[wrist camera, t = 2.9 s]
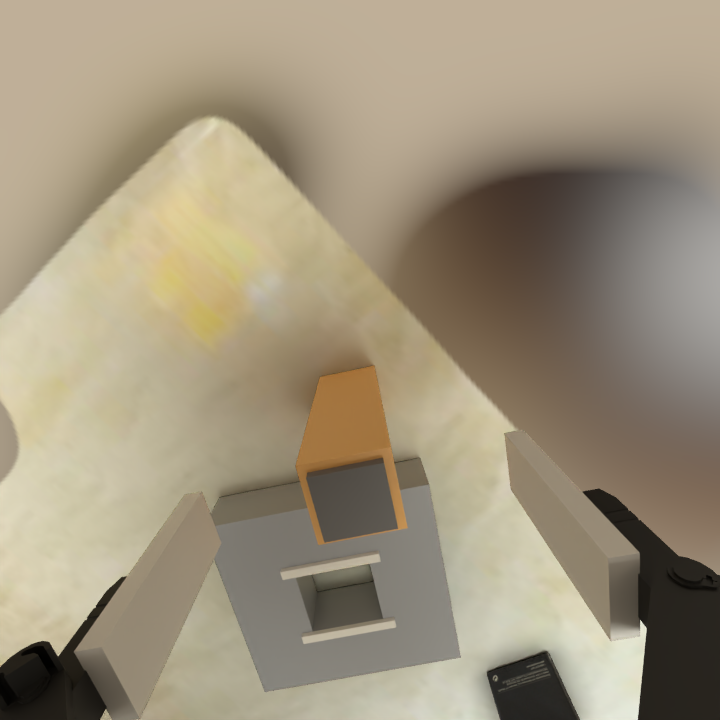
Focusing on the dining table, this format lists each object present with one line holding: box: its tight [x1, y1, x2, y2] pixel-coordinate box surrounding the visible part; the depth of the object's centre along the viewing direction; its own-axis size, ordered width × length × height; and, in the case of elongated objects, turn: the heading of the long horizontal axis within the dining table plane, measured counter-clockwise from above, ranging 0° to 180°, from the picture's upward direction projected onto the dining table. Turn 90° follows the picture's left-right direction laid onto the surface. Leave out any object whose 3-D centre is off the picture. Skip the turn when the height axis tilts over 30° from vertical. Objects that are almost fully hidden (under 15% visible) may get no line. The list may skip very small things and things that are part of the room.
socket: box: [211, 458, 461, 692], centre depth 29 cm, size 16×16×4 cm
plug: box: [296, 366, 408, 545], centre depth 21 cm, size 4×4×12 cm
